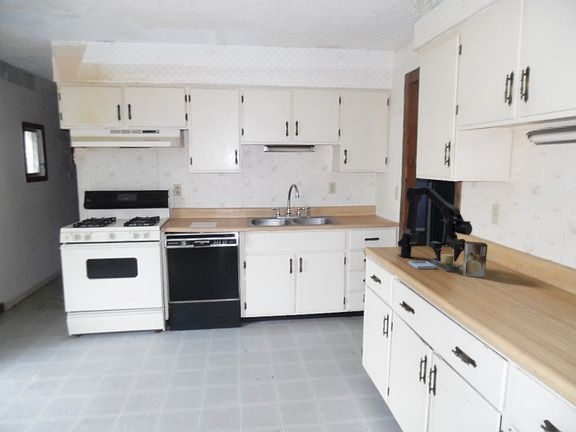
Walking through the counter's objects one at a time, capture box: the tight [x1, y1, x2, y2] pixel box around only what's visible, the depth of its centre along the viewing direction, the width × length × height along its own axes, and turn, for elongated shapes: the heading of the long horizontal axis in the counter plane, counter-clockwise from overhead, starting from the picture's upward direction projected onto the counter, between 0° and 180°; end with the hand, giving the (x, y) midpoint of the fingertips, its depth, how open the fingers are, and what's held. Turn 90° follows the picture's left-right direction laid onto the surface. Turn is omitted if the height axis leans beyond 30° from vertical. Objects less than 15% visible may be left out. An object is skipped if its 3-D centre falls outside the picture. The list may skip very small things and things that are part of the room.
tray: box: [408, 260, 437, 270], centre depth 204 cm, size 10×10×2 cm
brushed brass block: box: [440, 253, 454, 265], centre depth 202 cm, size 4×4×7 cm
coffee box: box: [461, 240, 488, 278], centre depth 191 cm, size 9×6×16 cm
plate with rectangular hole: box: [427, 257, 461, 273], centre depth 205 cm, size 18×7×2 cm, turn 9°
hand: (446, 261), depth 202 cm, fingers open, 9 cm apart
